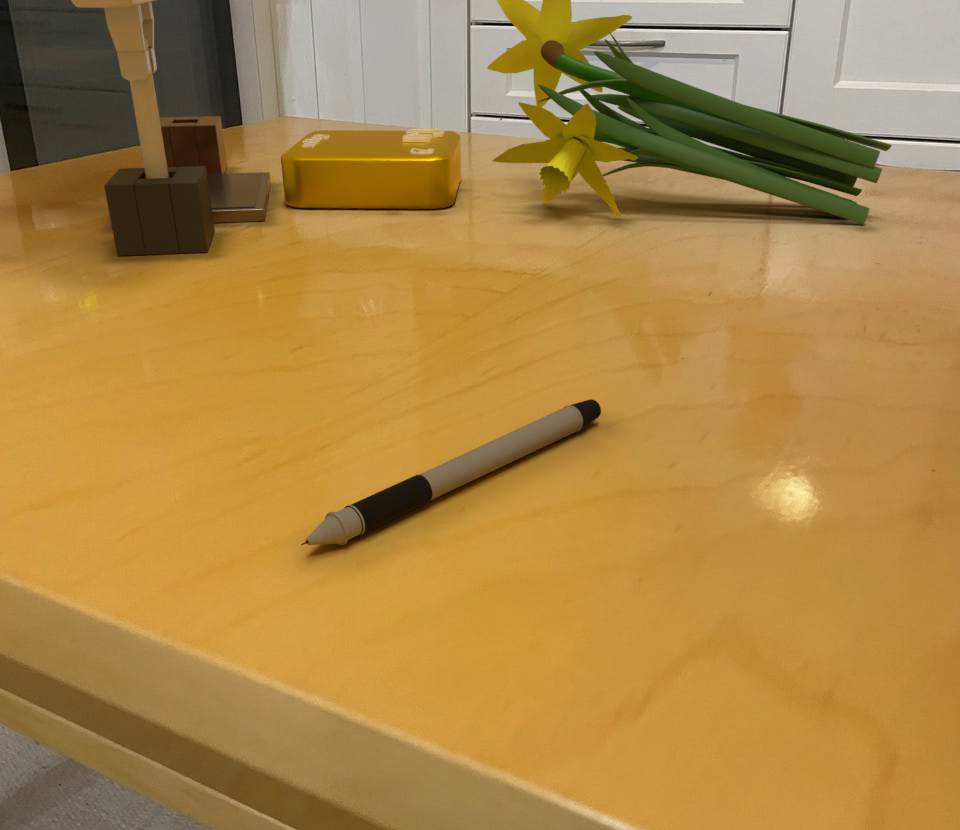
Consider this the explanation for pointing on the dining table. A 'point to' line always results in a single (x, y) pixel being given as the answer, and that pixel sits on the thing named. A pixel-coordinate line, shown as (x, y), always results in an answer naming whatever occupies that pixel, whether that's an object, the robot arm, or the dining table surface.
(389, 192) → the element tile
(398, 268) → the dining table surface
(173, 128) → the stand
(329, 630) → the dining table surface
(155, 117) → the tan wooden bar
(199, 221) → the holder
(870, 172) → the daffodil flowers
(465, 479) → the pen
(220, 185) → the tablet
